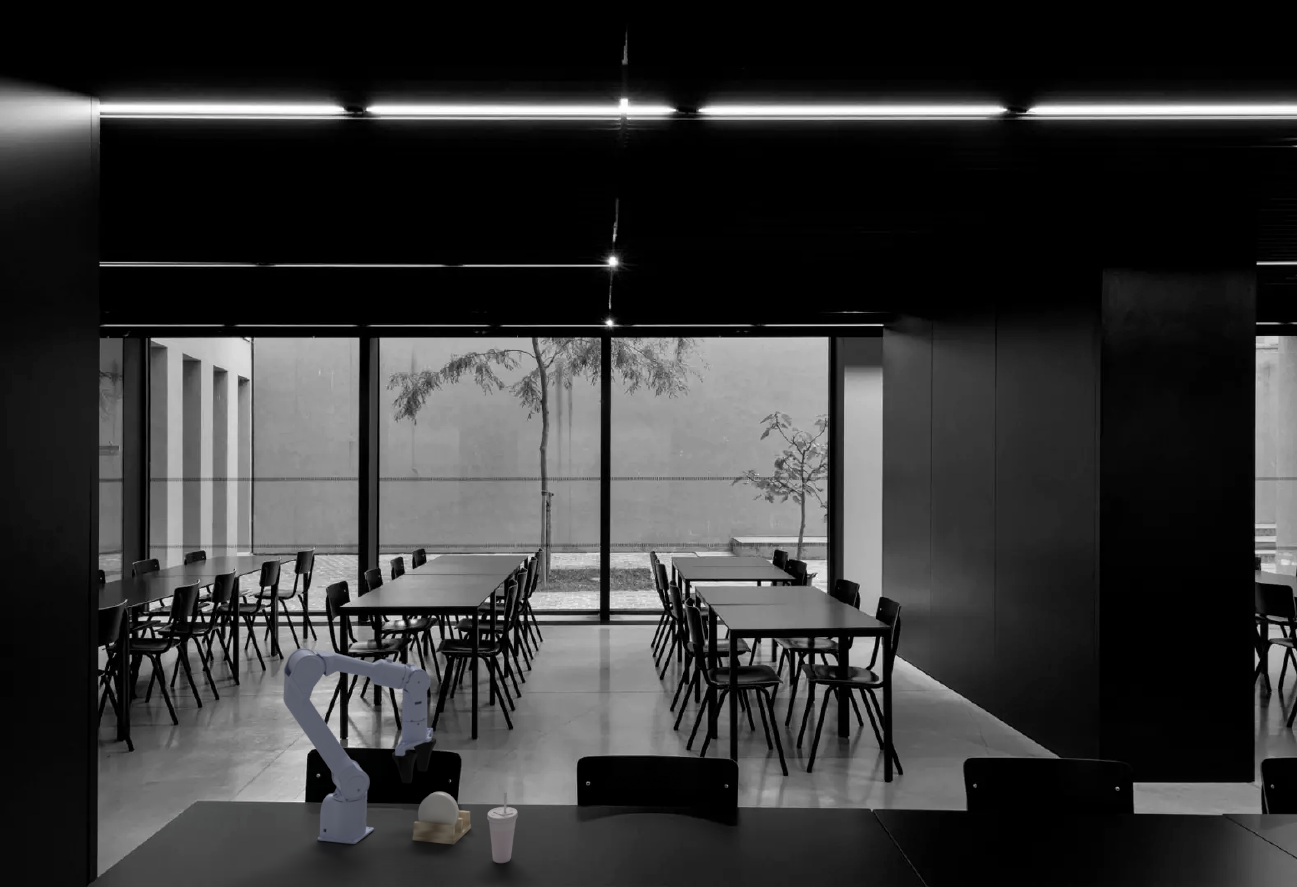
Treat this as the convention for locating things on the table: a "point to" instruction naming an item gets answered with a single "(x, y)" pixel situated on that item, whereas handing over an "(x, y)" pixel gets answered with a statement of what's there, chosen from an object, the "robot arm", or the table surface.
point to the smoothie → (502, 831)
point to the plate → (439, 809)
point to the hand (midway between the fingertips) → (414, 776)
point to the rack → (442, 830)
